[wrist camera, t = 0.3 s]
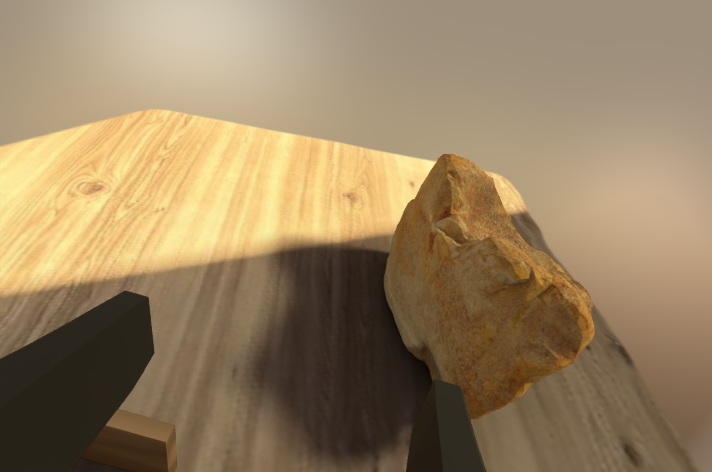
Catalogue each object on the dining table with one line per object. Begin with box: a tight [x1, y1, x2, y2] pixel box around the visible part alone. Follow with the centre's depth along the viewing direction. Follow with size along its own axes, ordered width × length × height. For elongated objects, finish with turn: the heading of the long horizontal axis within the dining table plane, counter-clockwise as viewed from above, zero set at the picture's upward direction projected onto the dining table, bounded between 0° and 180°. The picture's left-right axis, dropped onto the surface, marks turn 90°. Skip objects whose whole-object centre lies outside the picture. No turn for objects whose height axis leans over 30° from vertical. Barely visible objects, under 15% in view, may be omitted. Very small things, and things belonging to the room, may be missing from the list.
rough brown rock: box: [384, 154, 595, 419], centre depth 37 cm, size 23×16×15 cm
